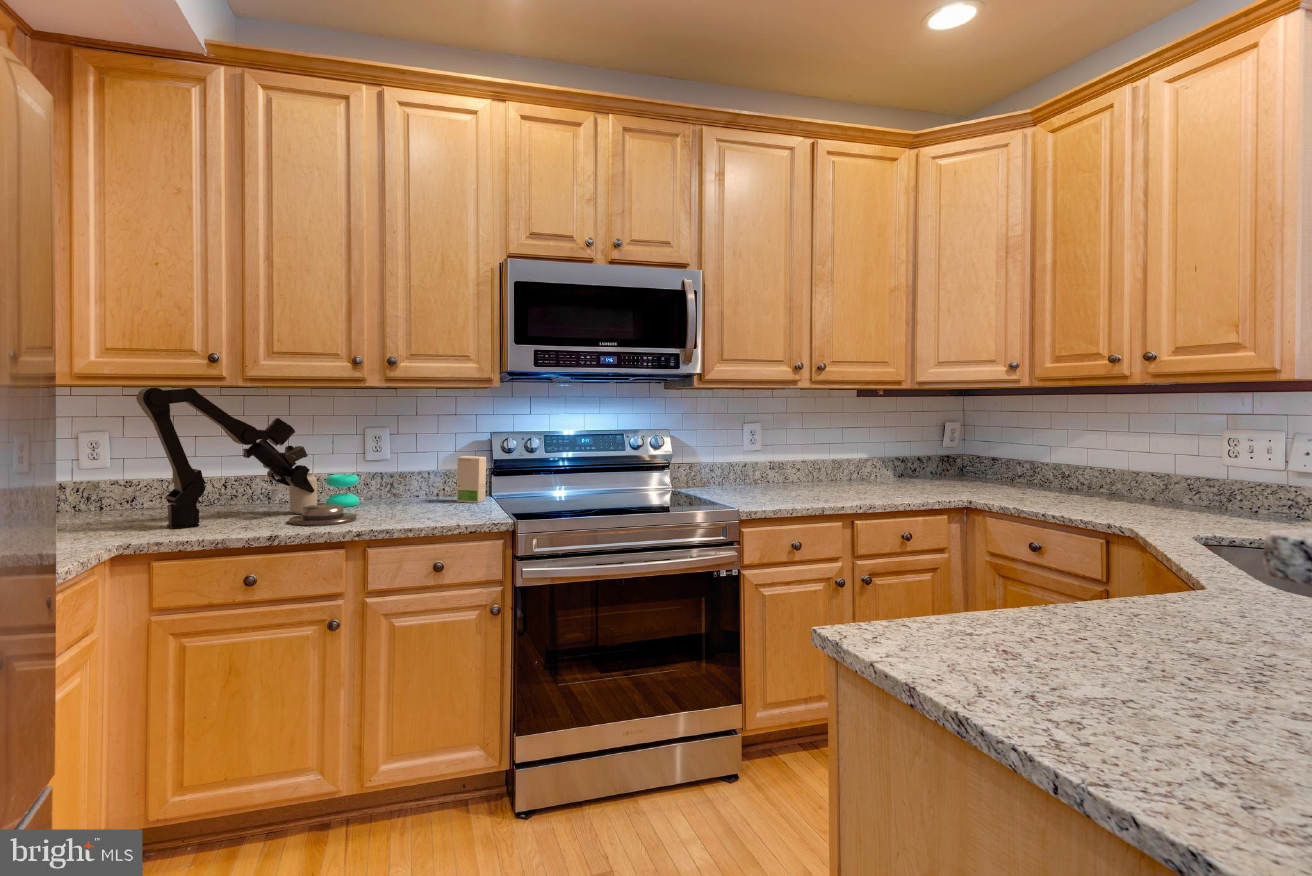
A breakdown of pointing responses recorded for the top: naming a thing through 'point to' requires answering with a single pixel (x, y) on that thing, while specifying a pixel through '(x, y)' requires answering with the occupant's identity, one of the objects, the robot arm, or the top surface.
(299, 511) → the can
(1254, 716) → the top surface
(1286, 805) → the top surface
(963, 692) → the top surface
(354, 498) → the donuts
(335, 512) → the duct stub
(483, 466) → the skincare box
